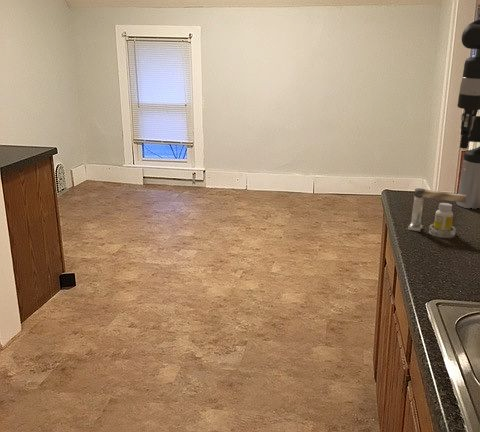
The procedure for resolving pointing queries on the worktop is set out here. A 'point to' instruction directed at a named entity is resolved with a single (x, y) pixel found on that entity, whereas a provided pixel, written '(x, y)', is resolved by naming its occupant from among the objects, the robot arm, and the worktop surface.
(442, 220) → the supplement bottle
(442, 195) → the bar
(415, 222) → the frame
